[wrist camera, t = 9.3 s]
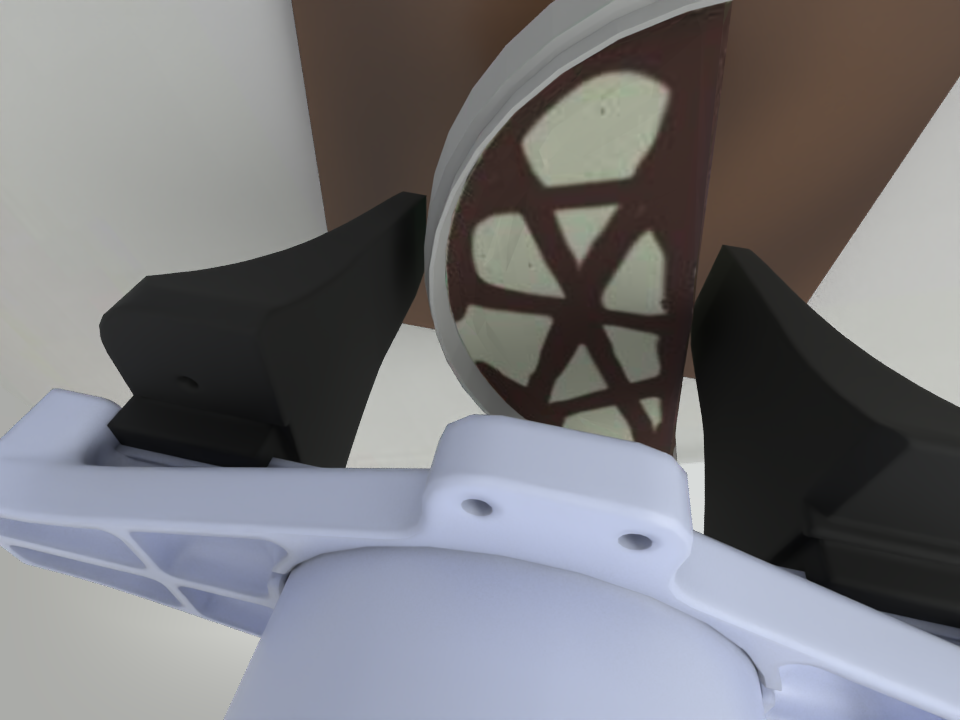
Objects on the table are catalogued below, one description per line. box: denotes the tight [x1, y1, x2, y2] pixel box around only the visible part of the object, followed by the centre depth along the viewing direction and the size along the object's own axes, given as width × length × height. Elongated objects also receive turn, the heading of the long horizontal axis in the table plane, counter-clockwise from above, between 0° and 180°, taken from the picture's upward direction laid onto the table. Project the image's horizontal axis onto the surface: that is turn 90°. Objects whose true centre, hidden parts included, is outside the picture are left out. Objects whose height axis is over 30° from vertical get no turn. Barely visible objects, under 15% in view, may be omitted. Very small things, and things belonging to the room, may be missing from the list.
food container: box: [424, 0, 733, 461], centre depth 14 cm, size 12×6×10 cm, turn 11°
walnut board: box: [291, 0, 960, 379], centre depth 18 cm, size 20×20×1 cm
